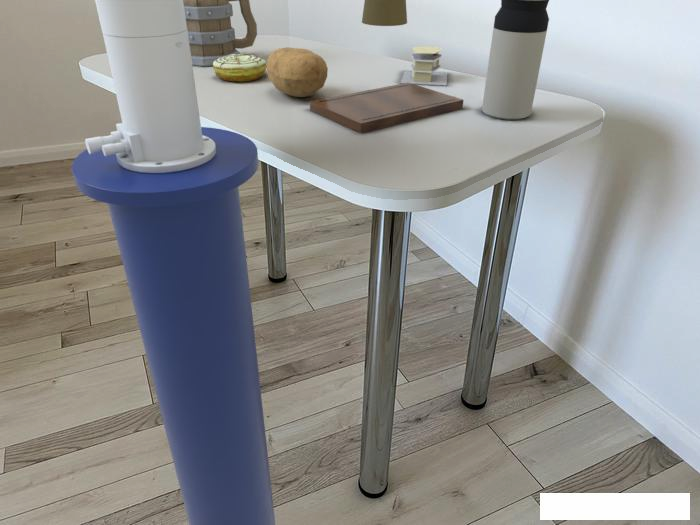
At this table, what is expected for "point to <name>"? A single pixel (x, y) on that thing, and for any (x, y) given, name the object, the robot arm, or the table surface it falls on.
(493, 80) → the travel mug
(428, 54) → the stacked layers on plate
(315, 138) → the table surface
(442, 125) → the table surface
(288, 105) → the table surface
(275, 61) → the potato
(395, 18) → the olive tapered rounded piece
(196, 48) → the tankard
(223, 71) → the decorated donut
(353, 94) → the cutting board
